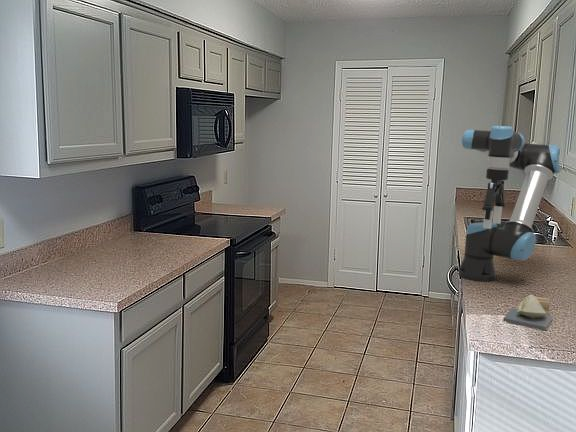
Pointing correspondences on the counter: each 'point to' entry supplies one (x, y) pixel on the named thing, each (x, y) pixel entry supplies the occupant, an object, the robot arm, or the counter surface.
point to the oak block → (544, 304)
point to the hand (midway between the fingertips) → (491, 225)
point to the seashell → (531, 307)
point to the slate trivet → (528, 320)
